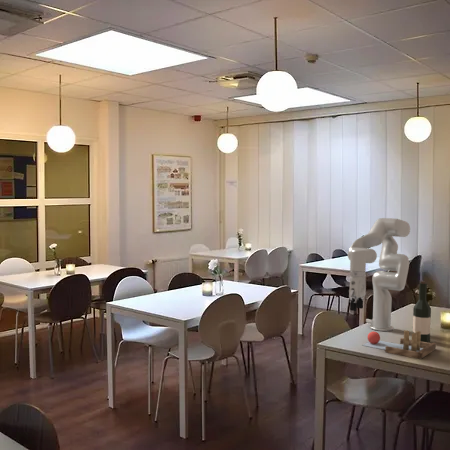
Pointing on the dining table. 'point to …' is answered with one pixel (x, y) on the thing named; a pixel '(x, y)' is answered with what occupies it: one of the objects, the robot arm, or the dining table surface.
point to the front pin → (406, 340)
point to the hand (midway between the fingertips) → (356, 309)
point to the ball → (373, 337)
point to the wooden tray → (421, 354)
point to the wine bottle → (422, 314)
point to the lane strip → (383, 345)
